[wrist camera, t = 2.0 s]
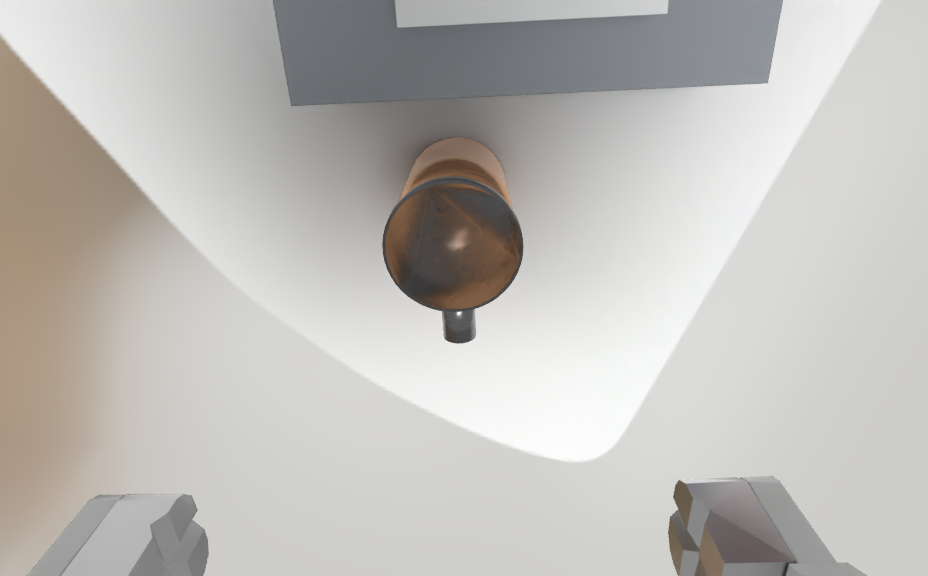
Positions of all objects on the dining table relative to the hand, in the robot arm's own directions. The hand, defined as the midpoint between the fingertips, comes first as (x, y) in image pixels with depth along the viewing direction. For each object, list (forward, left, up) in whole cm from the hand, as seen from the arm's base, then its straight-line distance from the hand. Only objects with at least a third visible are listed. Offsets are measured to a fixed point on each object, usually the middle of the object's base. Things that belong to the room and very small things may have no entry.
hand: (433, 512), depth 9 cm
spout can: (+1, 0, -21) cm, 21 cm away
